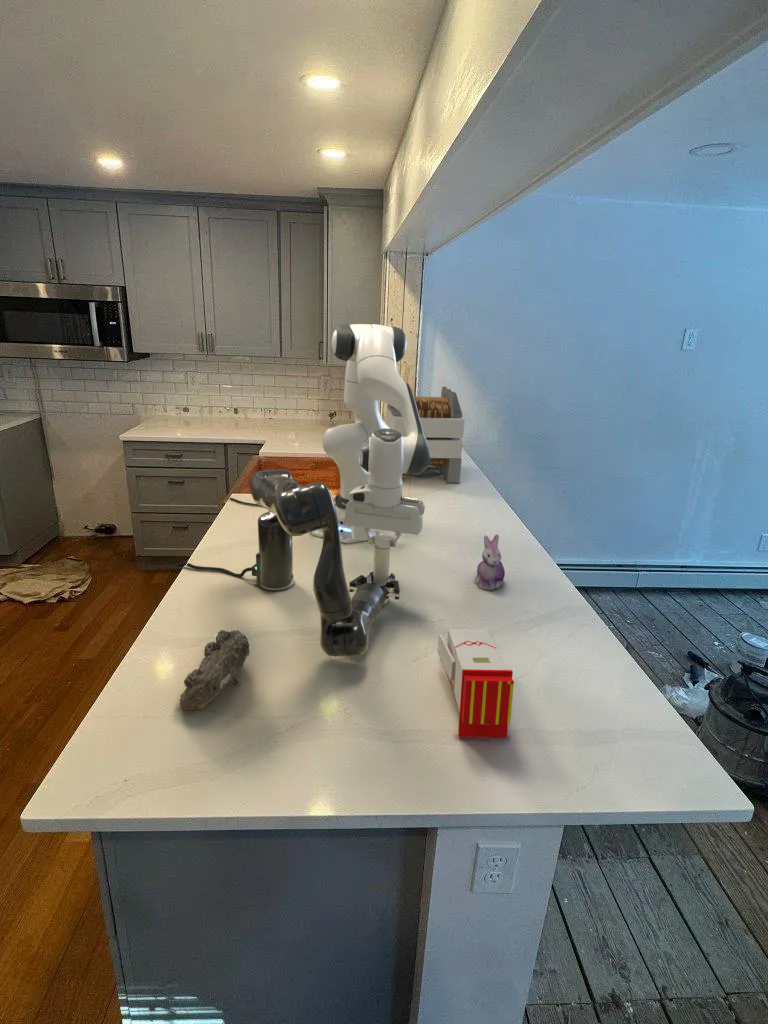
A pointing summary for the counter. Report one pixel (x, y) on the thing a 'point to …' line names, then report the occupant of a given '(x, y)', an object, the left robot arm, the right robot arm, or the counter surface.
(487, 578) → the figurine
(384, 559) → the cream cylinder
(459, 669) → the toy
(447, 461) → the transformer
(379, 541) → the lid
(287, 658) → the counter surface
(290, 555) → the left robot arm
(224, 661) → the fossil
